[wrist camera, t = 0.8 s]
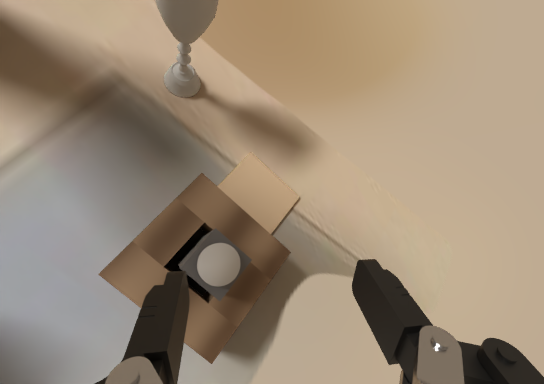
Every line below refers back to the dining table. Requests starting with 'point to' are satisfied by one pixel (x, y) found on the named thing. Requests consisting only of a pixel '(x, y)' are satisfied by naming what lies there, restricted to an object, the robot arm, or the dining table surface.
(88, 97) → the dining table surface
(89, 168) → the dining table surface
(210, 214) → the wooden square socket block
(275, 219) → the pad
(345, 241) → the dining table surface
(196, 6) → the chalice
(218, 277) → the plug
